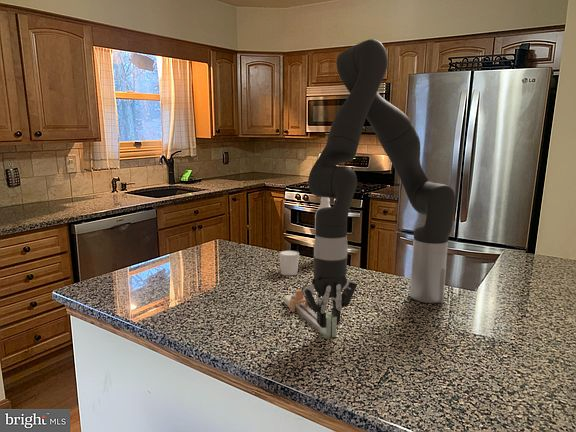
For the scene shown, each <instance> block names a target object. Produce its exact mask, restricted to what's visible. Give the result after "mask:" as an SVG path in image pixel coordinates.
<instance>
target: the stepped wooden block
mask: <svg viewBox="0 0 576 432" xmlns="http://www.w3.org/2000/svg"><path fill="white" fill-rule="evenodd" d="M301 289H302V288H301ZM301 289H295V291H294V295H295V299H290V308H289V310H290V312H292V313H295V312H296V311H295V304H298V303H304V304H305V305H307V306H308V307H309V305H308V303H307V301H306V299H305V297H304V295H303V292H302V290H301ZM309 308H310V307H309ZM310 309H311V308H310Z"/></svg>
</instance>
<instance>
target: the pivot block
mask: <svg viewBox="0 0 576 432" xmlns="http://www.w3.org/2000/svg"><path fill="white" fill-rule="evenodd" d="M290 299H295V294H290V295H284V296H283V303H284V304H285V306H287V307H288V308H289V309H290ZM297 305H298V306H300V303H298V304H297Z"/></svg>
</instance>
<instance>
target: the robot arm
mask: <svg viewBox="0 0 576 432" xmlns="http://www.w3.org/2000/svg"><path fill="white" fill-rule="evenodd" d="M388 65H389V58H388V52H387V50H386V47H385V46H384V45H383V43H382V42H381V41H379V40H377V39H375V38H371V39H367V40H363V41H362V42H359V43H357V44H355V45H353V46H351V47H348V48H347V49H345V50H344V51H341V52H340V53H339V54H338V55H337V59H336V69H337V73H338V75H339V77H340V78H339V79H340V80H341V81H342V83H343V85H344V87H345V89H347V91H348V92H349V95H348V96H347V98H346V100H345V101H344V103H343V104H342V105H341V107H340V109H339V110H338V111H337V113H336V115H335V116H334V119H333V121H332V123H331V125H330V130H329V133H328V136H327V140H326V145H325V146H324V148H323V149H322V151H321V153H320V155H319V156H318V158H317V160H316V161H315V162H314V164H313V166H312V167H311V169H310V172H309V174H308V175H309V176H308V179H307V182H308V183H307V184H308V185H307V186H308V188H309V192H310V193H311V194H312V195H314V196H316V197H319V198H321V197H329V198H333V199H336V200H335V203H334V205H333V206H331V207H326V208H321V209H319V210H318V209H317V210H318V211H317V210H316V212H317V213H316V212H315V214H316V228H315V227H314V234H315V236H314V242H313V271H312V272H313V279H312V281H311V284H310V285H307V286H301V290H302V292H303V295H304V297H305V299H306V301H307V303H308V305H309V307H310V309H311V310H312V311H313V312H314V313H316V315H317V323H318V324H319V326H320V327H321V328H325V327H326V313H327V312H326V310H327V305H328V303H329V299H330V298H331V306H332V307H331V312H332V313H333V314H334V315H335V316H337V326H339V323H340V322H341V311H342V309H343V308H347V307H349V305H350V302H351V300H352V298H353V296H354V293H355V291H356V289H357V286H358V285H357V283H355V282H354V281H352V280H351V279H349V280H348V279H347V276H346V275H347V269H348V268H347V267H348V263H347V262H348V239H347V237H348V235H347V234H348V218H349V213H350V208H351V204H352V200H353V199H354V195H355V192H356V189H357V185H358V178H357V177H358V176H357V174H356V172H355V170H354V169H353V168H352V167H351V166H347V165H339V164H343V163H347V162H348V163H349V162H351V161H352V160H354V159H355V157H356V155H357V152H358V147H359V143H360V141H361V136H362V132H363V129H364V125H365V122H366V120H367V122H368V123H369V124H370V126H371V128H372V130H373V132H374V133H375V135H376V138H377V139H378V141H379V143H380V145H381V146H382V147H381V148H382V149H383V150H384V152H385V154H386V155H387V157H388V159H389V161H390V162H391V164H392V166H393V169H394V170H395V172H396V174H397V175H398V177H399V179H400V182H401V184H402V187H403V188H404V191H405V194H406V195H407V199H408V200H409V203H410V205H411V207H412V208H413V210H415V211H416V212H417V213H419V214H422V215H424V216H426V218H425V223H424V225H421V226H417V227H416V228H415V229H414V232H413V244H412V260H411V274H410V275H411V276H410V288H409V289H410V294H409V296H410V298H412V300H415V301H416V302H417V301H418V302H421V303H426V304H427V303H428V304H436V303H440V304H443V303H444V297H445V285H446V274H447V258H448V247H449V246H448V243H449V238H450V237H449V236H450V234H451V232H452V229H453V223H454V217H455V210H456V209H455V208H456V194H455V191H454V189H453V187H451V186H450V185H447V184H444V183H438V182H432V181H431V180H429V178H428V176H427V174H426V173H425V171H424V169H423V167H422V164H421V140H420V136H419V134H418V133H417V131H416V129H415V127H414V124H413V123H412V121H411V119H410V118H409V116H408V115H407V114H406V113H404V111H402V110H401V109H399V108H398V107H396V106H395V105H394V104H392V103H390V101H388V100H386V99H385V98H383V97H382V96H381V95H380V93H378V90H379V88H380V86H381V84H382V82H383V79H384V77H385V74H386V72H387V69H388ZM314 291H315V292H316V300H315V297H314V295H315V292H314Z"/></svg>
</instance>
